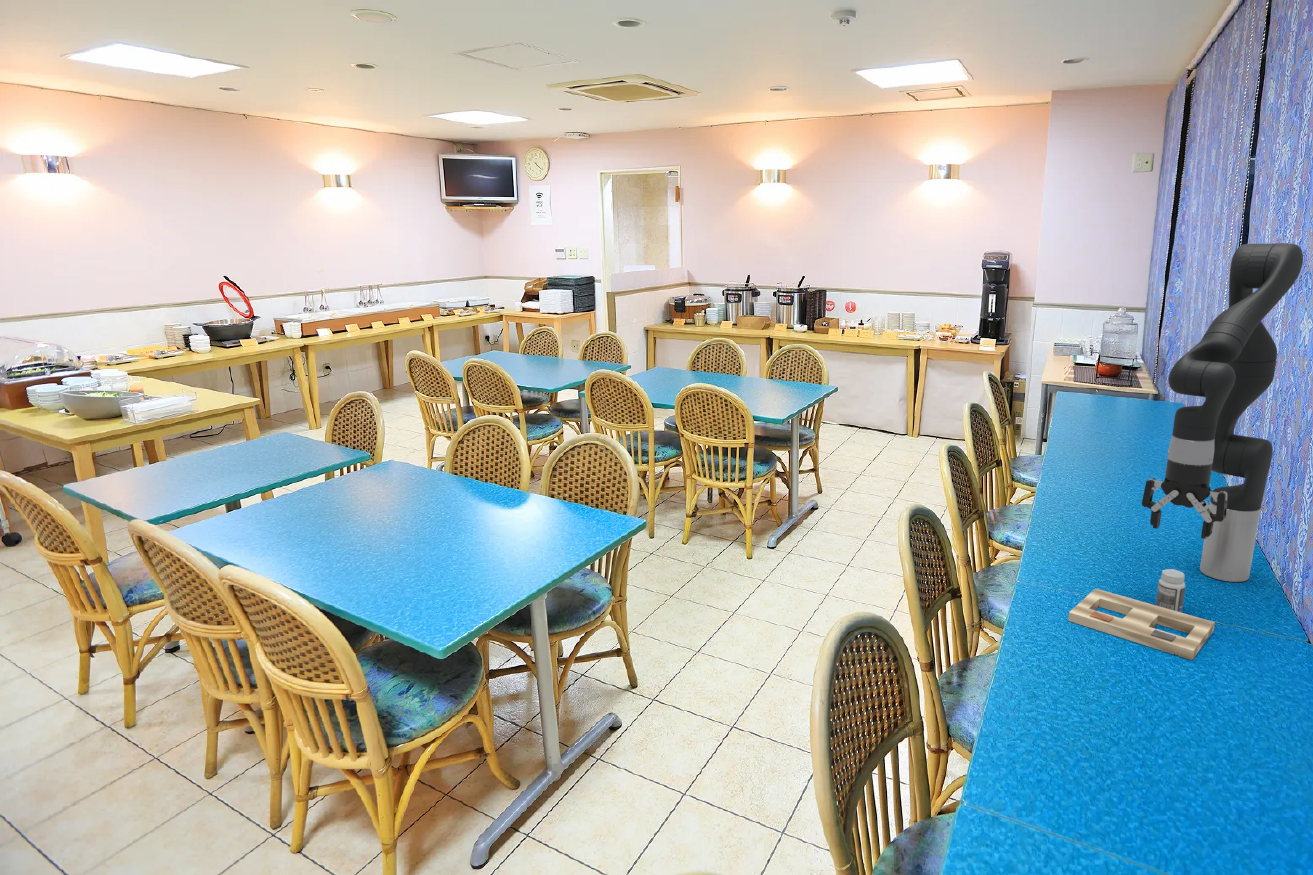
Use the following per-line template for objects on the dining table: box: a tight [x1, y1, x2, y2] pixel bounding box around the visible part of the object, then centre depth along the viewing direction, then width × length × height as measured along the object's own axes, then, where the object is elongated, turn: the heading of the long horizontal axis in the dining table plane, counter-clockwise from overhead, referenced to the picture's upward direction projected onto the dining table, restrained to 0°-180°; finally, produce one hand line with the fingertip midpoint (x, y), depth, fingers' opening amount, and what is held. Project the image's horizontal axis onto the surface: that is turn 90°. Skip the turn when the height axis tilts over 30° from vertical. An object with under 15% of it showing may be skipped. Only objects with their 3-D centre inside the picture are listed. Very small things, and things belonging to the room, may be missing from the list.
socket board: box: [1067, 588, 1216, 661], centre depth 153 cm, size 15×22×2 cm
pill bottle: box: [1155, 568, 1186, 613], centre depth 159 cm, size 5×5×8 cm
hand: (1179, 532), depth 155 cm, fingers open, 8 cm apart
